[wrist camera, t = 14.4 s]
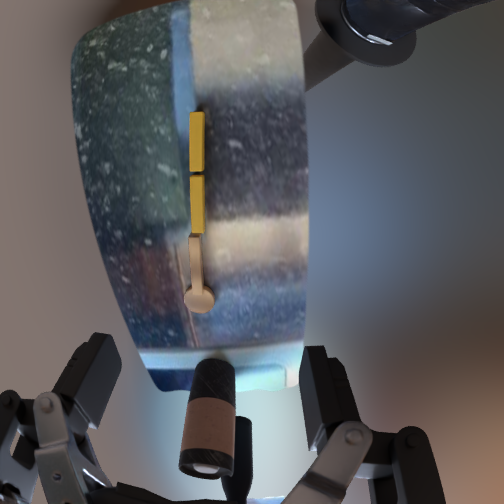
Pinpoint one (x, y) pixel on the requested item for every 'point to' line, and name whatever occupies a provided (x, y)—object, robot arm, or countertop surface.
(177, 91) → the countertop surface
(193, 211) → the bar
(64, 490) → the robot arm
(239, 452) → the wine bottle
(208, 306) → the spoon
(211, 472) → the travel mug
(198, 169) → the bar
